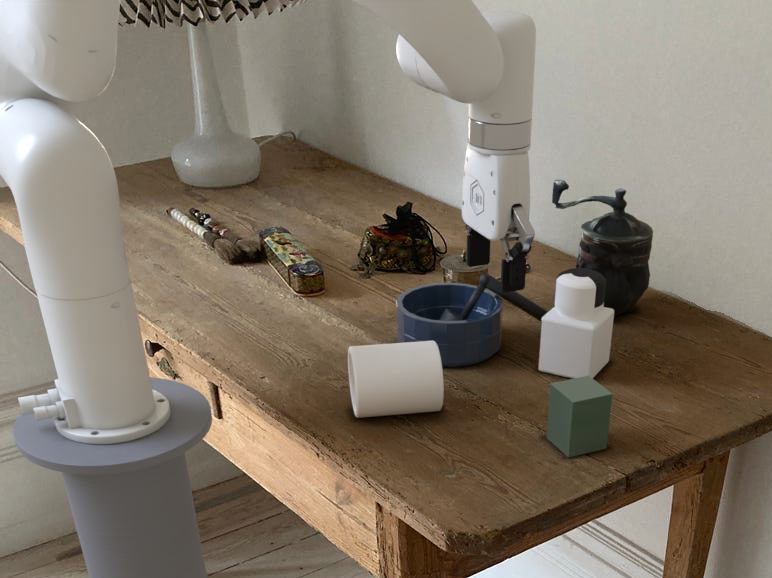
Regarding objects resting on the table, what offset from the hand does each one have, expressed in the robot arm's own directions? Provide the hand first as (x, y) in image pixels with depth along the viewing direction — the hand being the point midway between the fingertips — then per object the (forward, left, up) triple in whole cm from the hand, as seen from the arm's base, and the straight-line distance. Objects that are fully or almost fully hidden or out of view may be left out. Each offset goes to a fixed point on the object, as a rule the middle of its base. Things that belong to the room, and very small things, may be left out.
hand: (494, 277), depth 133 cm
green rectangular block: (-4, -29, -8) cm, 31 cm away
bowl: (-6, 0, -8) cm, 11 cm away
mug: (-19, -12, -8) cm, 24 cm away
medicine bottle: (+6, -12, -8) cm, 16 cm away
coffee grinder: (+18, +2, -8) cm, 20 cm away
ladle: (-1, 0, -9) cm, 9 cm away
